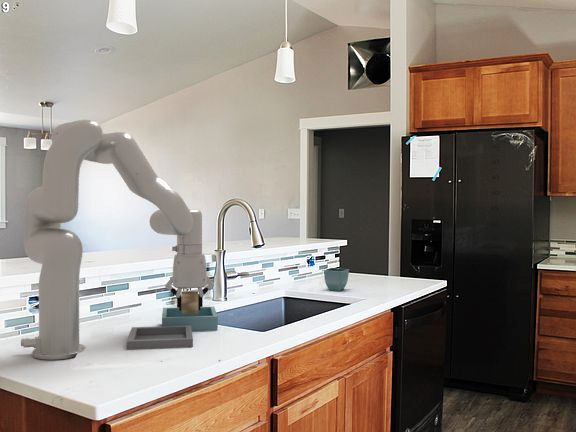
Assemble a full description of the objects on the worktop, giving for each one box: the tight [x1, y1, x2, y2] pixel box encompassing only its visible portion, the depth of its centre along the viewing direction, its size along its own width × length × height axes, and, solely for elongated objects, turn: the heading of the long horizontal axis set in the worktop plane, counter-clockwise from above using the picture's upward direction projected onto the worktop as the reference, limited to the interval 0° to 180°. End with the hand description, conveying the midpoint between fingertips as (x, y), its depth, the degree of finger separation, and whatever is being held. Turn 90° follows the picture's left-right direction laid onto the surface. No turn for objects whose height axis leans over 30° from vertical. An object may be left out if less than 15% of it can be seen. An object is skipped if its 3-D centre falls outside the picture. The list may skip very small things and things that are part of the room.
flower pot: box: [323, 267, 350, 292], centre depth 254 cm, size 9×9×9 cm
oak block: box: [181, 290, 199, 314], centre depth 177 cm, size 5×5×6 cm
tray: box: [161, 306, 219, 332], centre depth 177 cm, size 16×16×5 cm
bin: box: [126, 325, 194, 351], centre depth 158 cm, size 17×17×3 cm
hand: (189, 309), depth 177 cm, fingers closed on oak block, 4 cm apart
